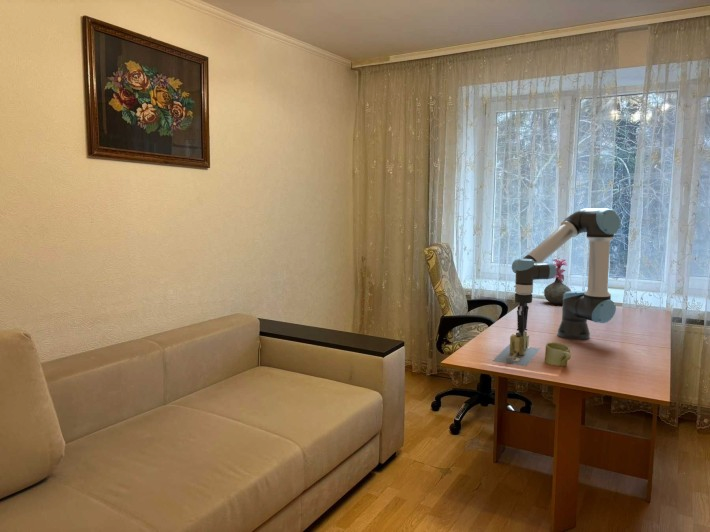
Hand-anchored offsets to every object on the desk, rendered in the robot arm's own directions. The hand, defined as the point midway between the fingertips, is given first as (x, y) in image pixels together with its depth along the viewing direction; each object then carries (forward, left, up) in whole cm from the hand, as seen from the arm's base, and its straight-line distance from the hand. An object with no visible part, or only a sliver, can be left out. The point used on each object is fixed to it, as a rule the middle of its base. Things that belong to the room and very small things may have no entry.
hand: (521, 344), depth 238 cm
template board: (0, +8, -3) cm, 9 cm away
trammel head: (0, +7, -3) cm, 8 cm away
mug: (-18, +13, -4) cm, 23 cm away
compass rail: (0, +8, -3) cm, 9 cm away
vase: (+4, -128, -4) cm, 128 cm away
